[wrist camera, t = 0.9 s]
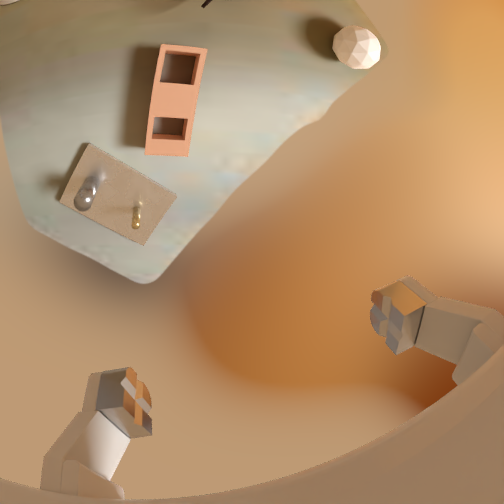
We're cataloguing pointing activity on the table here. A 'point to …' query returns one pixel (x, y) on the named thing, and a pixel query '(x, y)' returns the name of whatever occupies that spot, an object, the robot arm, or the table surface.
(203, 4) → the coffee mug
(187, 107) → the link
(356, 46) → the geometric ball
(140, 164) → the table surface
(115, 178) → the post plate
